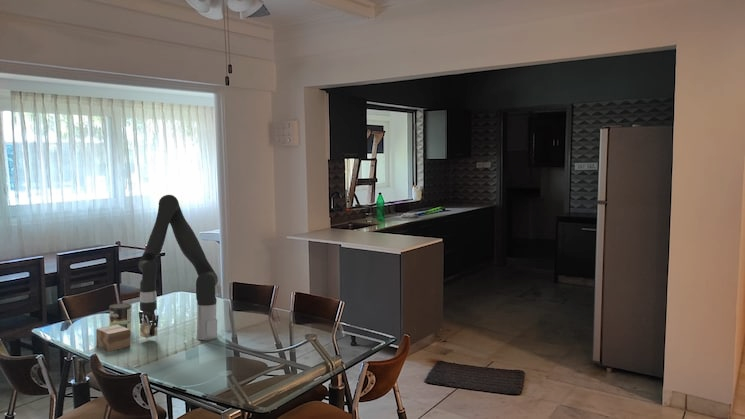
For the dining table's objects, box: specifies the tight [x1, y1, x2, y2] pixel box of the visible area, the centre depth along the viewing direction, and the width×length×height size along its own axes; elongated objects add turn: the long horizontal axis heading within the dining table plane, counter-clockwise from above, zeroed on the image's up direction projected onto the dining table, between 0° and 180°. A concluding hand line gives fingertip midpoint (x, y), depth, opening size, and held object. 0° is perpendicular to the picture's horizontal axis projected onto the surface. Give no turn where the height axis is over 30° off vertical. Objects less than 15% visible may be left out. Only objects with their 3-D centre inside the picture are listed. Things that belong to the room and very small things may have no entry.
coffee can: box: [108, 302, 133, 334], centre depth 274 cm, size 10×10×14 cm
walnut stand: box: [95, 325, 131, 352], centre depth 254 cm, size 12×10×8 cm
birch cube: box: [139, 323, 158, 339], centre depth 263 cm, size 6×6×6 cm
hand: (148, 334), depth 263 cm, fingers closed on birch cube, 5 cm apart
